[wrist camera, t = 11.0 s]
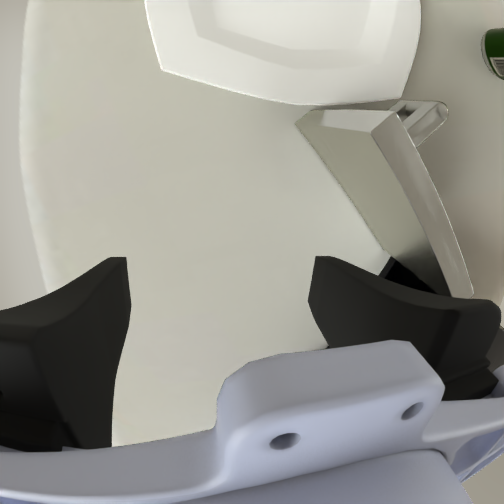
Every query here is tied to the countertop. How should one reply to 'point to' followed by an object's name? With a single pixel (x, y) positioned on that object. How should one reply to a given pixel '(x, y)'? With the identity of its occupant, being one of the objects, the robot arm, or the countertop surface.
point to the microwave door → (393, 185)
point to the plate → (290, 47)
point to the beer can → (494, 51)
